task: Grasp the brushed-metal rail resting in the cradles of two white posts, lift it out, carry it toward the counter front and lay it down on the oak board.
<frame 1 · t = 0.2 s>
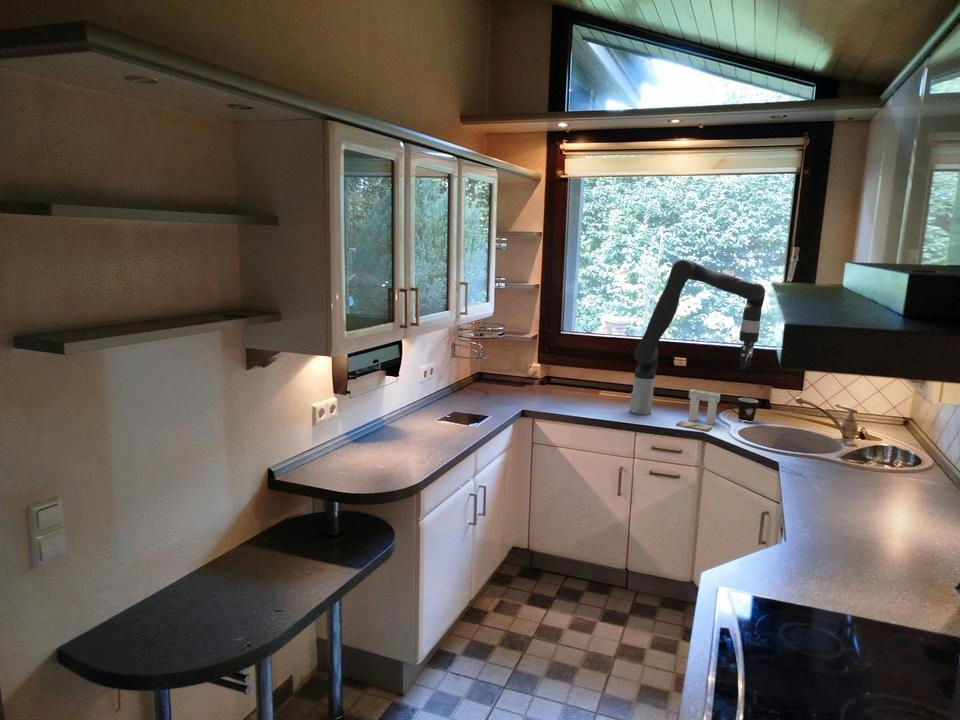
hand: (744, 367, 286), 29 cm above the worktop, tool pointing down, fingers open, 8 cm apart
post 1: (692, 419, 307), on the worktop
coffee mug: (742, 420, 309), on the worktop
rail: (703, 399, 303), point 10 cm above the worktop, touching post 1, post 2
board: (693, 427, 294), on the worktop
post 2: (710, 422, 303), on the worktop
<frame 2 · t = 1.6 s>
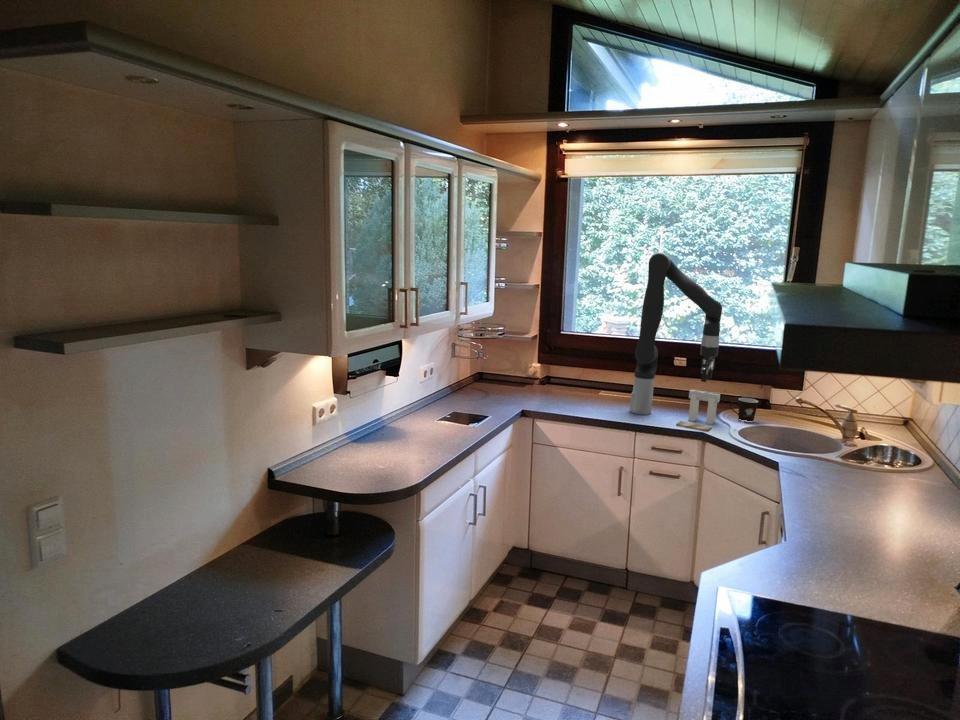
hand: (706, 380, 301), 19 cm above the worktop, tool pointing down, fingers open, 8 cm apart
nothing on the worktop moved.
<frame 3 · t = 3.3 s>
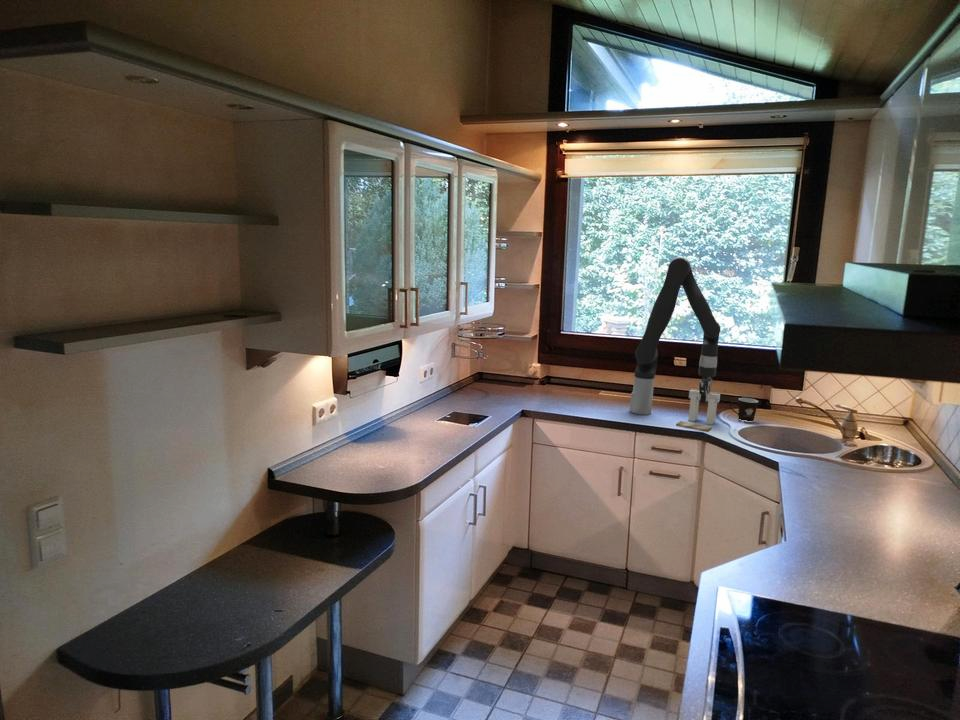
hand: (703, 401, 303), 9 cm above the worktop, tool pointing down, fingers closed on rail, 3 cm apart
rail: (703, 399, 303), point 10 cm above the worktop, touching gripper, post 2
everything else where it was.
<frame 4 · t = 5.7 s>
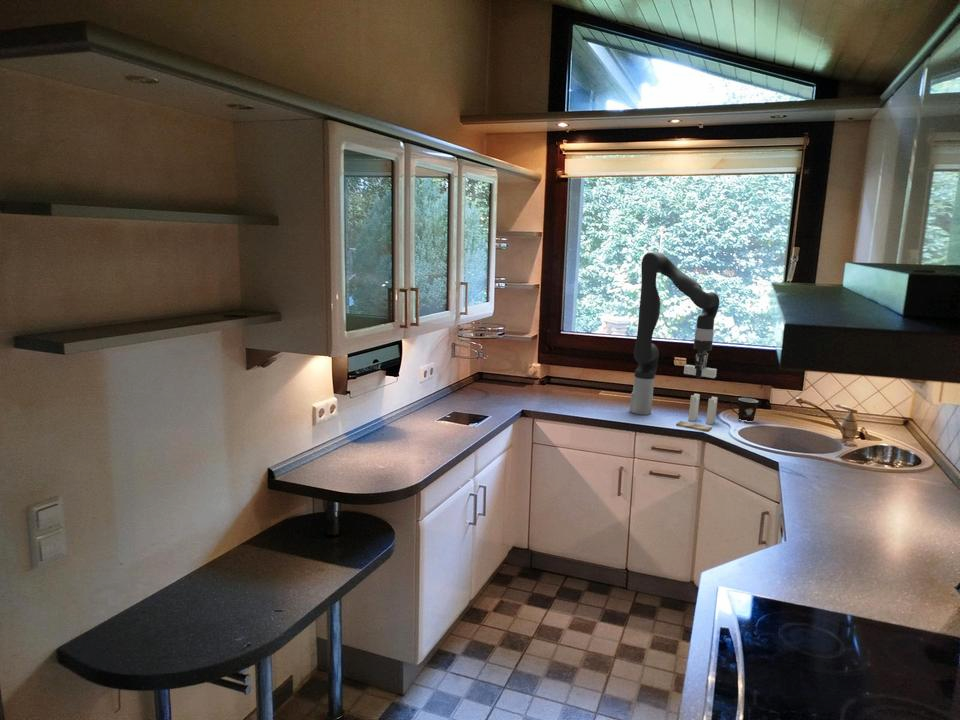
hand: (699, 377, 290), 23 cm above the worktop, tool pointing down, fingers closed on rail, 3 cm apart
rail: (699, 375, 290), point 24 cm above the worktop, touching gripper
everything else where it was.
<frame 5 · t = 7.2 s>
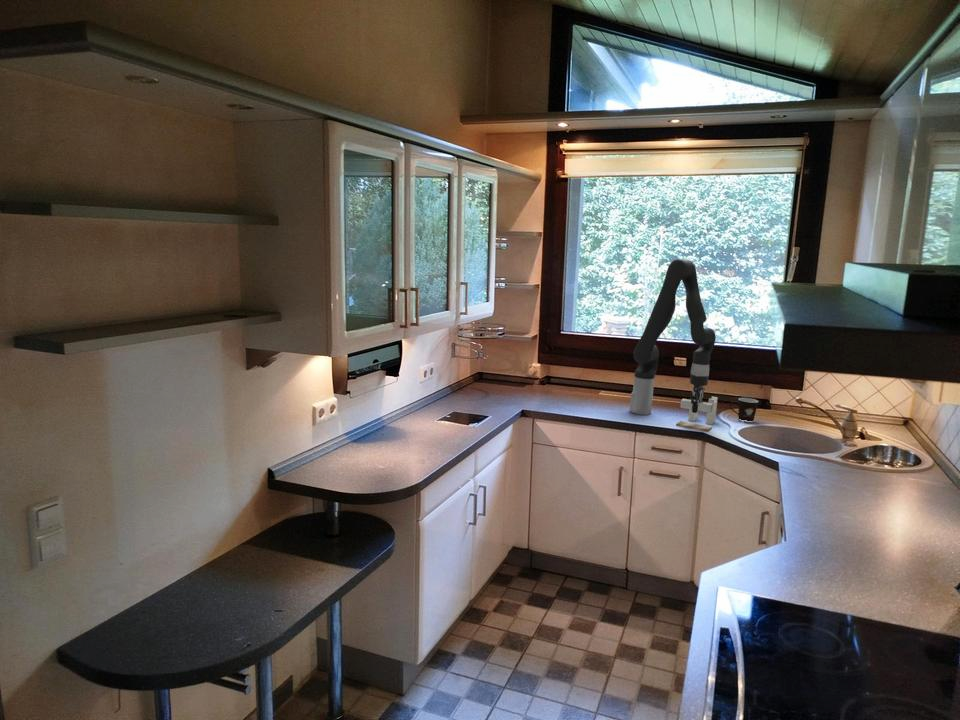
hand: (695, 411, 293), 7 cm above the worktop, tool pointing down, fingers closed on rail, 3 cm apart
rail: (696, 409, 292), point 8 cm above the worktop, touching gripper
everything else where it was.
when the fingers open (2 cm above the worktop, at t = 8.5 s): rail drops 2 cm, resting on board.
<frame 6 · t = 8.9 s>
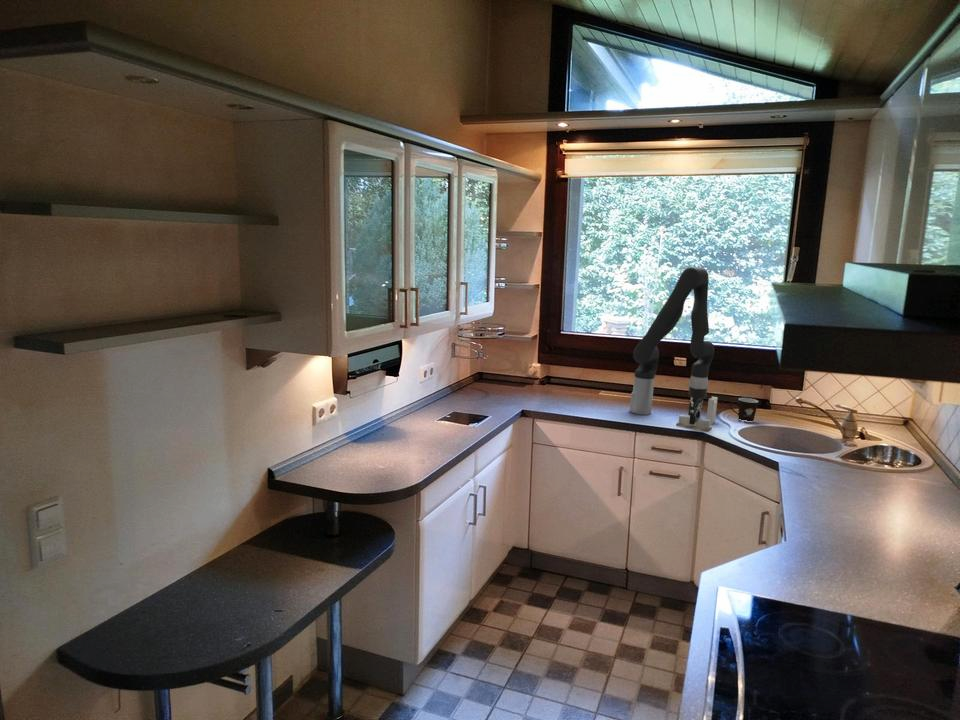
hand: (694, 422, 294), 2 cm above the worktop, tool pointing down, fingers open, 7 cm apart
rail: (694, 425, 294), point 1 cm above the worktop, touching board
everything else where it was.
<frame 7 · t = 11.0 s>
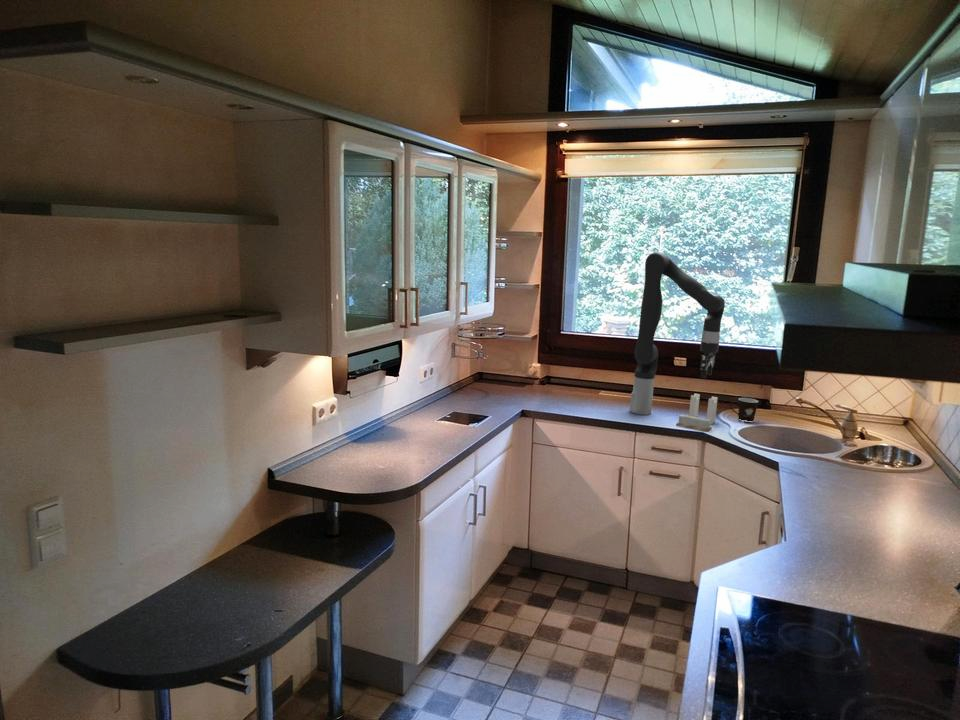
hand: (705, 376, 295), 22 cm above the worktop, tool pointing down, fingers open, 8 cm apart
nothing on the worktop moved.
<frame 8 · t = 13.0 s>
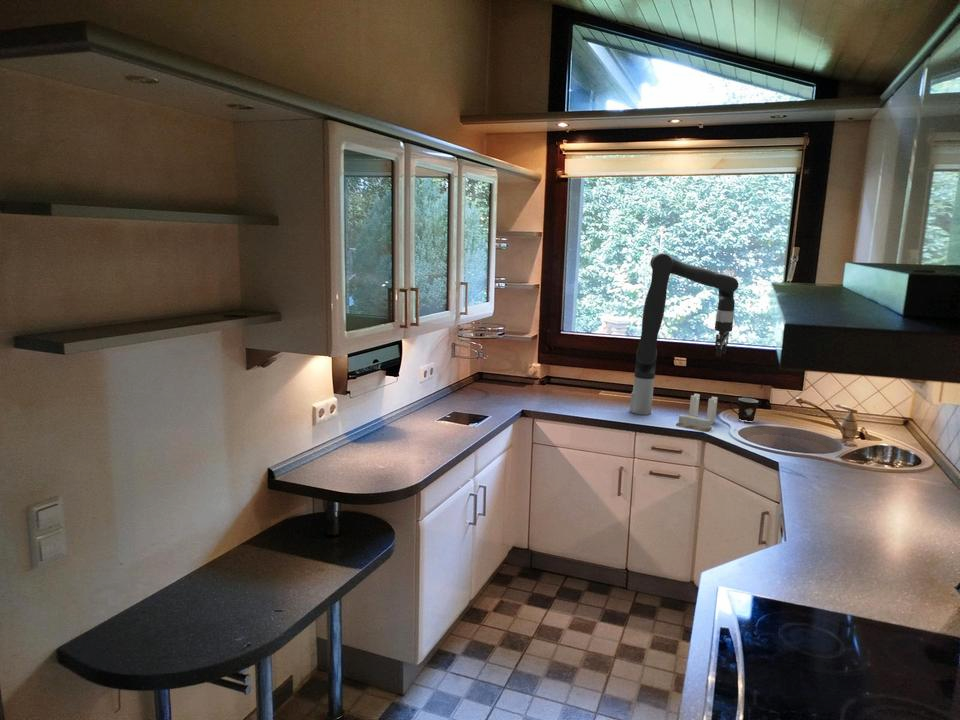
hand: (720, 355, 304), 30 cm above the worktop, tool pointing down, fingers open, 8 cm apart
nothing on the worktop moved.
at the end: rail inside the target area on the board (0.1 cm from its centre), point 0.8 cm above the board's base; rail point 0.8 cm above the worktop; the gripper is holding nothing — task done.
